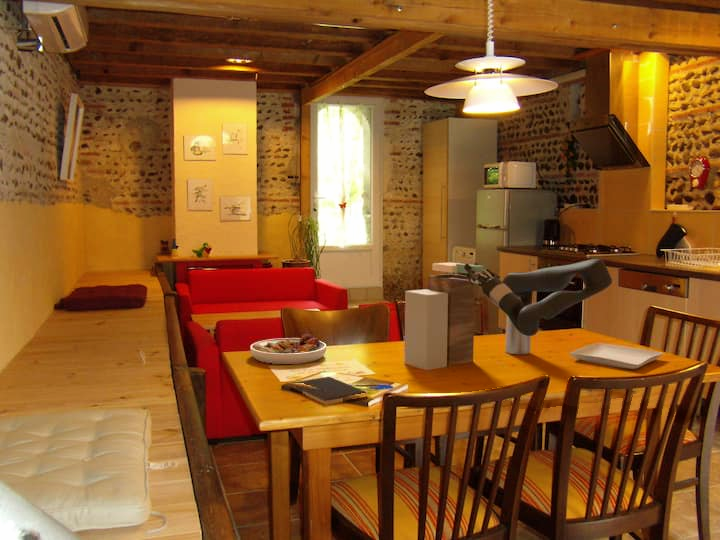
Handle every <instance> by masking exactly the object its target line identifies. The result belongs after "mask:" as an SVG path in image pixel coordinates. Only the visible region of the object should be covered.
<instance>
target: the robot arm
mask: <svg viewBox="0 0 720 540" xmlns="http://www.w3.org/2000/svg"><path fill="white" fill-rule="evenodd" d="M464 264H465V266H464V269H465V270H466V271H467V272H468V273H466V275H465V276H467V278H468V280H469V282H470V283H471V284H472V285H474V283H475V284H477V285H478V286H479V287H481V288H482V293H483V294H484V295H485V296H486V297H487V298H488V299H489V300H490V301H491V302H492V303H493V304H494V305H495V306H496V307H499V309H500V310H501V311H503V312H504V313H505V315H506V321H505V322H506V327H505V329H506V330H505V352H506V353H507V354H512V355H527V354H531V339H532V338H531V337H532V336H536V334H537V333H538V332H539V326H540V320H541V319H544V320H552V319H554V318H555V317H557V315H560V313H562V312H564V311H565V310H566V309H568V308H571V307H572V306H575V305H576V304H579V303H580V302H582V301H584V300H586V299H589V298H590V297H593V296H595V295H597V294H598V293H601V292H603V291H604V290H606V289H607V288H609V287H610V286H611V285H612V283H613V279H612V277H611V274H610V272H609V270H608V268H607V266H606V264H605V262H604V260H603V259H601V258H592V259H588V260H582V261H579V262H576V263H575V262H574V263H570V264H566V265H565V264H564V265H556V266H551V267H550V266H549V267H544V268H540V269H536V270H533V271H532V270H531V271H529V272H526V271H518V272H510V273H507V275H505V276H504V277H503V279H502V280H501V276H499V275H498V274H496V273H495V272H494V271H492V270H491V269H489V268H486V269H485V268H484V273H483V274H482V273H480V272H479V271H478V272H476V271H475V270H474V269H473V268H472V267H471V266H470V265H469V264H470V263H464ZM473 265H479V264H478V263H477V262H474V264H473ZM473 273H475V274H473ZM576 275H579V276H580V279H581V280H582V283H583V284H584V286H585V287H584V288H583V289H581V290H578V291H577V290H574V291H573V290H564V289H565V288H567V286H569V284H570V282H571V281H572V280H573V278H574V277H575V276H576ZM534 292H538V293H539V292H542V293H543V292H544V293H545V292H547V293H548V292H553V293H550V294H549V295H548V296H546V297H545V298H543V299H542V300H540V301H538V302H537V301H536V302H533V296H534V295H533V294H534Z"/></svg>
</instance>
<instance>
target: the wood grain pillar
mask: <svg viewBox="0 0 720 540" xmlns="http://www.w3.org/2000/svg"><path fill="white" fill-rule="evenodd" d="M427 278H428V279H427V290H433V291H439V292H445V293H448V325H447V366H448V367H452V366H458V365H463V364H470V363H473V362H474V342H475V340H474V339H475V338H474V336H475V303H476V302H475V295H476V293H475V292H476V289H475V288H476V283H474V285H472V284H471V283H470V282H469V280H468V278H467V276H466V275H463V274H454V273H448V274H436V275H435V274H434V275H428V276H427Z"/></svg>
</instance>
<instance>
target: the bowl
mask: <svg viewBox="0 0 720 540" xmlns="http://www.w3.org/2000/svg"><path fill="white" fill-rule="evenodd" d="M249 348H250V349H249V351H250V354H251V356H252V357H253V359H256V360H257V361H259V362H262V363H264V362H265V364H269V363H272V364H271V365H279V364H293V365H301V364H300V363H303V364H309V363H312V362H315V361H318V360H320V359H321V358H322V357H324V355H325V354H326V351H327V344H326V343H325V342H322V341H320V340H319V339H318V337H313V336H312V334H310V333H305V334H303V335H302V336H301V338H299V337H290V338H289V337H285V338H284V337H283V338H271V339H270V338H269V339H265V340H264V339H263V340H259V341H257V342H256V341H255V342H254V343H252V344H251V345H250V347H249ZM308 362H309V363H308Z"/></svg>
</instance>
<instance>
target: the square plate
mask: <svg viewBox="0 0 720 540" xmlns="http://www.w3.org/2000/svg"><path fill="white" fill-rule="evenodd" d="M569 354H570V355H571V356H572V357H573V358H574V359H576V360H580V361H584V362H587V363H591V364H597V365H602V366H607V367H609V366H610V367H613V368H614V367H615V368H620V369H629V370H636V369H638V368H641V367H644V366H645V365H647V364H649V363H652V362H654V361H656V360H658V359H659V358H661V357H662V356H663V355H664V353H663V352H661V351H655V350H649V349H644V348H638V347H634V346H626V345H620V344H619V345H618V344H610V343H603V342H596V343H592V344H588V345H586V346H583V347H581V348H578V349H576V350H572V351H571V352H569Z"/></svg>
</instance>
